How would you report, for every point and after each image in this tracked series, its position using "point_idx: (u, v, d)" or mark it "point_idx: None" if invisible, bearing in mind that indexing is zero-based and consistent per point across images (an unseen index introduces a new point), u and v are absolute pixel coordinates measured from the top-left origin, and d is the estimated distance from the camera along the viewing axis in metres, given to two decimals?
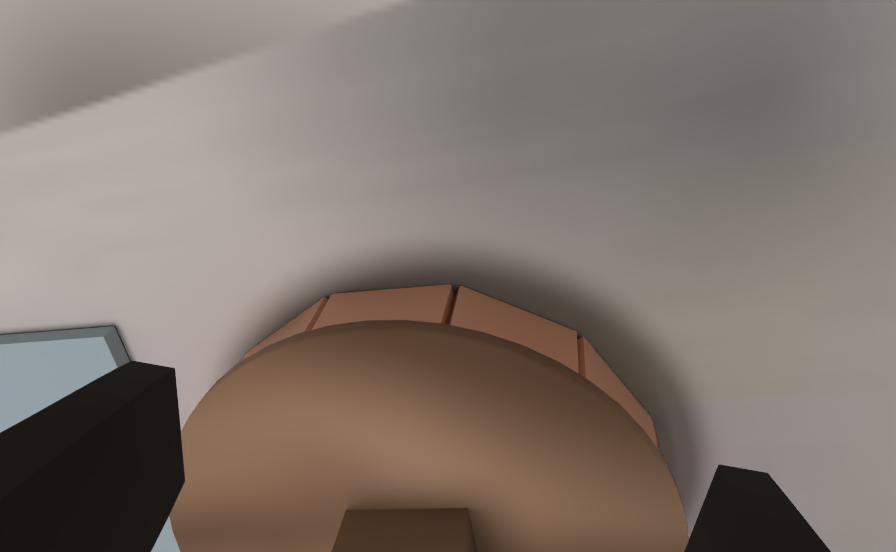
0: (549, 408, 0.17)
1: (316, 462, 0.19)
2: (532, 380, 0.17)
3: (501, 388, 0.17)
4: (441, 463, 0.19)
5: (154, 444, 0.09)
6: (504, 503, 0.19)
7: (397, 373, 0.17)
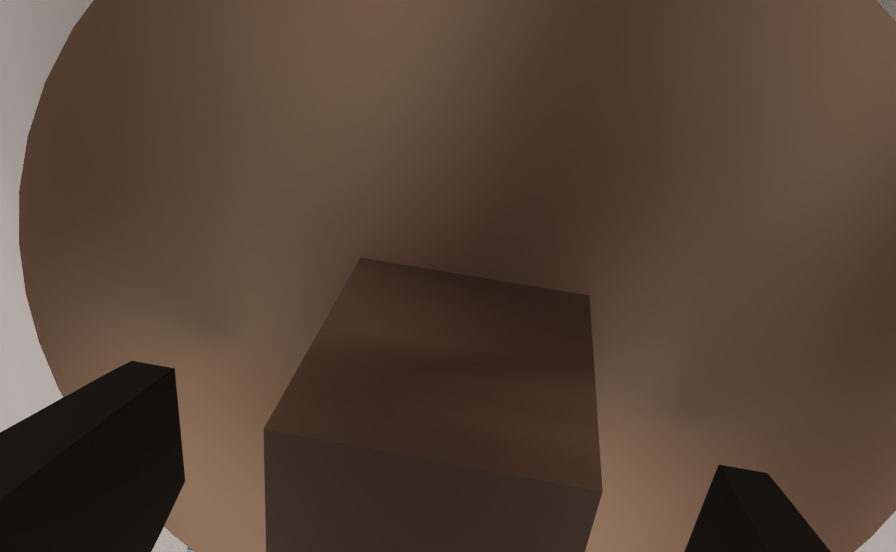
0: (141, 59, 0.10)
1: (255, 433, 0.13)
2: (85, 74, 0.10)
3: (105, 128, 0.10)
4: (259, 267, 0.11)
5: (154, 444, 0.09)
6: (354, 195, 0.10)
7: (88, 269, 0.12)
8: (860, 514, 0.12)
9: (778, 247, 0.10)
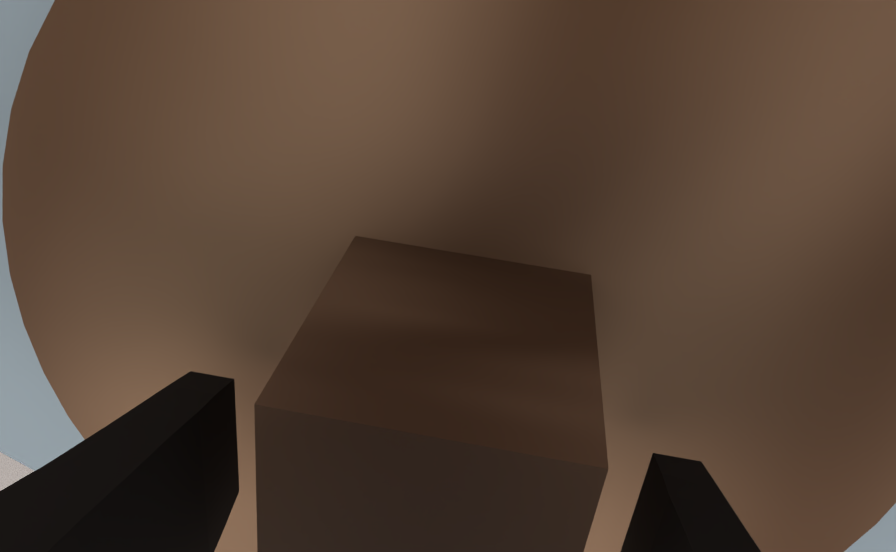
0: (128, 27, 0.09)
1: (246, 419, 0.12)
2: (70, 42, 0.10)
3: (91, 100, 0.10)
4: (250, 246, 0.11)
5: (215, 455, 0.09)
6: (349, 170, 0.10)
7: (74, 248, 0.11)
8: (865, 499, 0.11)
9: (785, 224, 0.10)
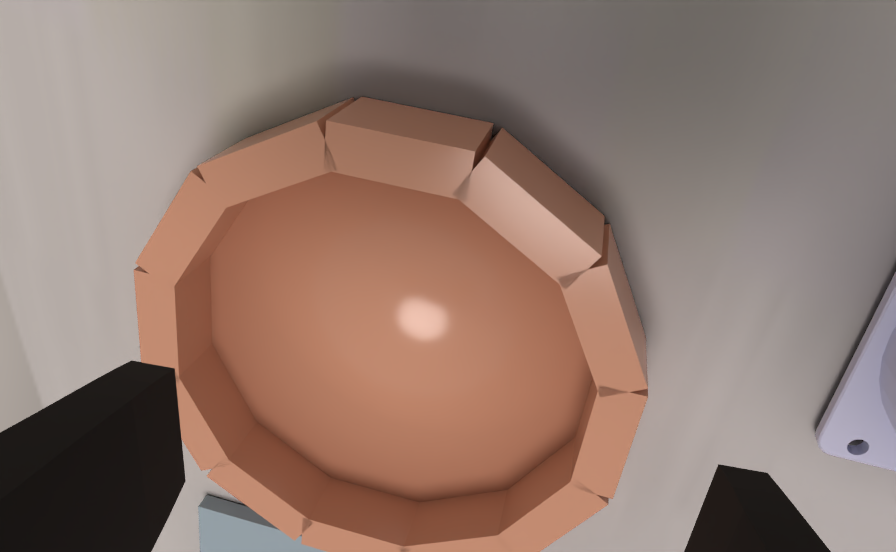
0: None
1: None
2: None
3: None
4: None
5: (154, 444, 0.09)
6: None
7: None
8: None
9: None
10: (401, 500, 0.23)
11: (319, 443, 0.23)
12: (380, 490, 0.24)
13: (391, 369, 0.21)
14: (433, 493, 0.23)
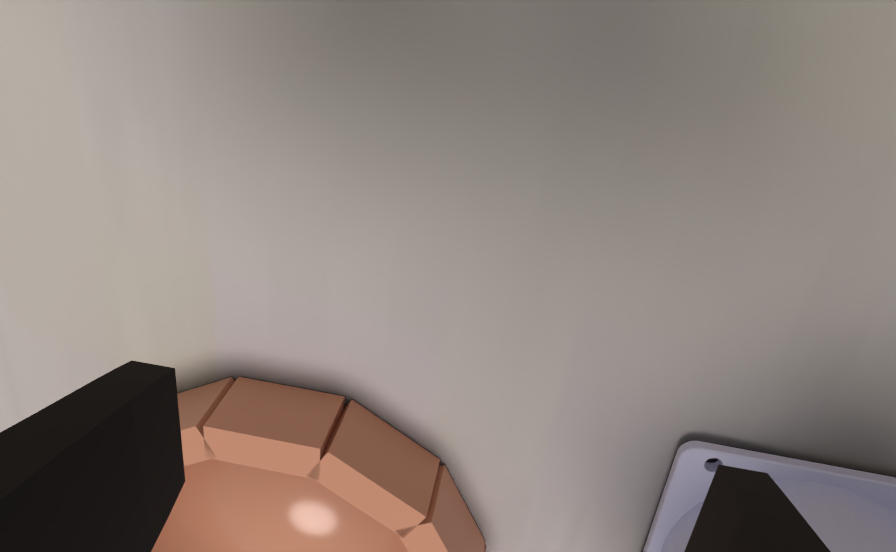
0: None
1: None
2: None
3: None
4: None
5: (154, 444, 0.09)
6: None
7: None
8: None
9: None
10: None
11: None
12: None
13: None
14: None
